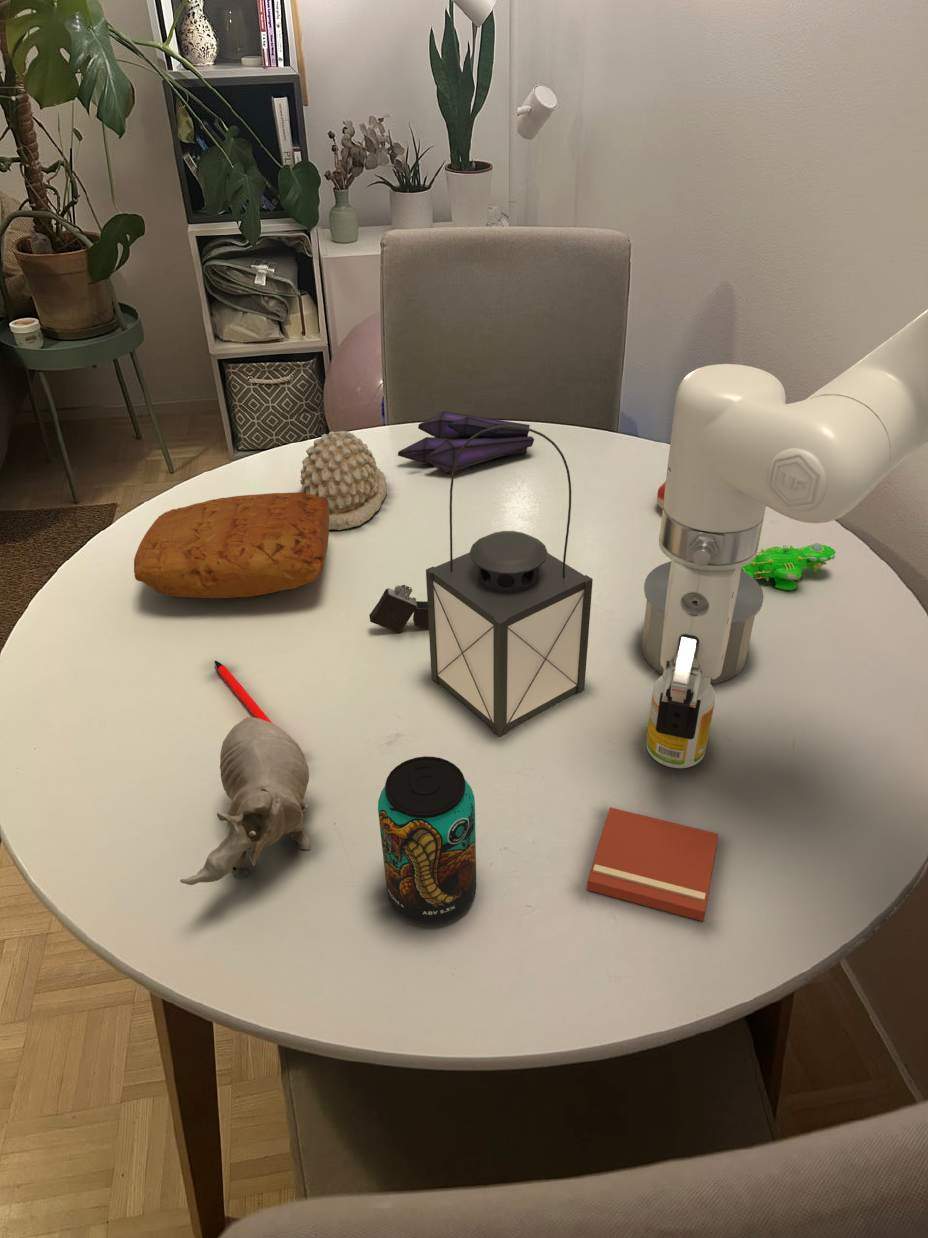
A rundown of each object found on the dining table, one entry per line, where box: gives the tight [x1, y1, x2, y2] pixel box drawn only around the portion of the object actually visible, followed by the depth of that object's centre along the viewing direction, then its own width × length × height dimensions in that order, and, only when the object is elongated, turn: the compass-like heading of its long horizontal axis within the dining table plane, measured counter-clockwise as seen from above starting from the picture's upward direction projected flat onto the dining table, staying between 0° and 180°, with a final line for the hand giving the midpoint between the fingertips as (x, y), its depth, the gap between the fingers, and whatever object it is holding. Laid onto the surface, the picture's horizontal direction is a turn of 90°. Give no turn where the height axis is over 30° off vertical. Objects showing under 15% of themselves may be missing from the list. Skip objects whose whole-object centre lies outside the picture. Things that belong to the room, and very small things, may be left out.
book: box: [586, 807, 719, 922], centre depth 73 cm, size 9×8×2 cm
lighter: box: [368, 584, 429, 634], centre depth 99 cm, size 8×2×5 cm
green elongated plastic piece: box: [741, 542, 836, 591], centre depth 105 cm, size 7×18×4 cm, turn 99°
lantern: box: [425, 425, 594, 737], centre depth 84 cm, size 11×11×28 cm
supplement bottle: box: [645, 656, 716, 769], centre depth 81 cm, size 5×5×10 cm
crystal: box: [397, 410, 535, 474], centre depth 132 cm, size 7×12×20 cm
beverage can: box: [377, 755, 478, 924], centre depth 68 cm, size 7×7×12 cm
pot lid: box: [643, 561, 764, 626], centre depth 90 cm, size 12×12×5 cm
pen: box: [214, 660, 273, 723], centre depth 89 cm, size 1×19×1 cm, turn 36°
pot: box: [641, 599, 756, 685], centre depth 93 cm, size 11×11×8 cm
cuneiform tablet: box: [133, 491, 330, 599], centre depth 107 cm, size 22×17×8 cm
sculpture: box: [299, 430, 388, 531], centre depth 121 cm, size 12×17×10 cm
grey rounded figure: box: [179, 716, 312, 886], centre depth 74 cm, size 8×14×15 cm
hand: (683, 697), depth 80 cm, fingers open, 9 cm apart
